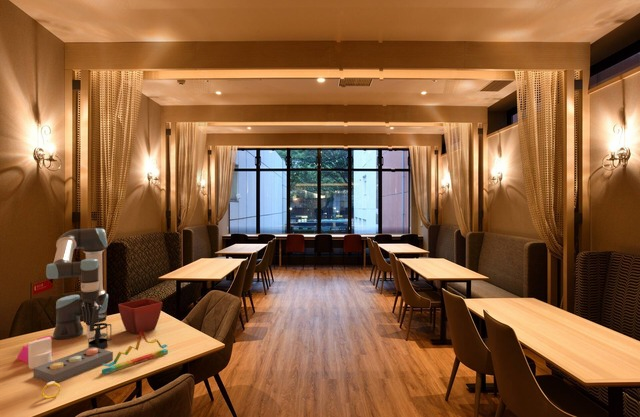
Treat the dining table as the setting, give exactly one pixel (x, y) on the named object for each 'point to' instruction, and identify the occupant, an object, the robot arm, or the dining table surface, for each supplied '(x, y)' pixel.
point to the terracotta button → (91, 351)
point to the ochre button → (56, 366)
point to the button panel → (72, 365)
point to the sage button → (74, 359)
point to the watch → (50, 385)
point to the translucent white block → (39, 352)
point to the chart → (134, 361)
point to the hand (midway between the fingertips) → (90, 337)
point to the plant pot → (140, 315)
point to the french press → (99, 334)
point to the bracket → (24, 352)
